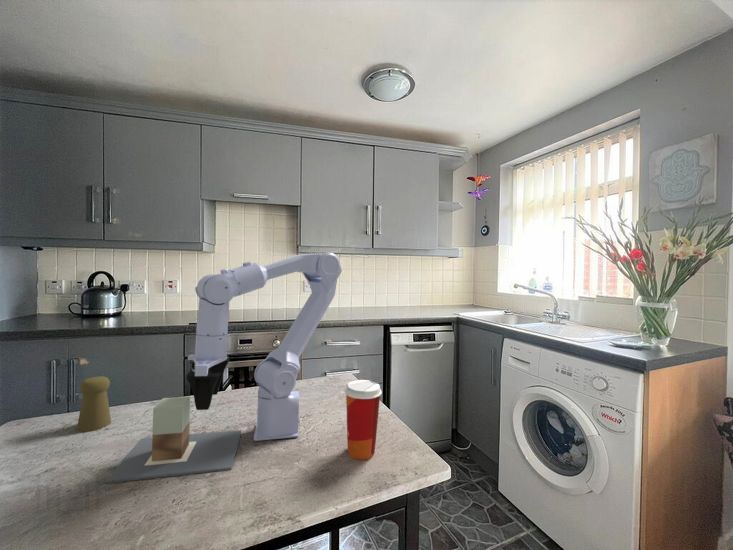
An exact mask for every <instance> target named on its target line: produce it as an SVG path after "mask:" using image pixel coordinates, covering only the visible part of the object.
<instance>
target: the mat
mask: <svg viewBox="0 0 733 550" xmlns="http://www.w3.org/2000/svg"><path fill="white" fill-rule="evenodd" d="M242 431H243V430H241V429H238V430H228V431H226V430H225V431H217V432H216V431H214V432H204V433H193V434H192V433H191V434H190V433H189V446H188V447H187V449H186V451H185V453H184V455H183V456H182V458H181V459H172V460H162V461H152V437H144V438H140V440H139V441H138V442H137V443H136V444H135V445H134V447H132V449H131V450H130V451H129V453H127V455H126V456H125V457H124V458H123V460H121V462H120V463H119V464H118V466H117V467H116V468H115V469H114V470H113V471H112V473H111V474H110V475H109V476H108V477H107V479H106V480H105V481H104V483H105V484H114V483H121V482H130V481H131V482H132V481H139V480H140V481H141V480H147V479H150V480H151V479H159V478H167V477H174V476H175V477H176V476H185V475H193V474H194V475H195V474H202V473H203V474H204V473H212V472H220V471H231V470H233V469H232V468H233V464H234V460H235V456H236V454H237V450H238V446H239V442H240V439H241V435H242Z"/></svg>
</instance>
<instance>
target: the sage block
mask: <svg viewBox="0 0 733 550" xmlns="http://www.w3.org/2000/svg"><path fill="white" fill-rule="evenodd" d="M189 421H190V422H191V396H180V397H179V396H177V397H176V396H175V397H163V398H162V399H161V400H160V401H159V402H158V403H157V404H156V405H155V406H154V407H153V408H152V435H159V434H172V433H182V432H183V430H184V429H185V427H186V426H187V424H188V423H189Z"/></svg>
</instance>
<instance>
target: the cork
mask: <svg viewBox="0 0 733 550" xmlns="http://www.w3.org/2000/svg"><path fill="white" fill-rule="evenodd" d="M110 385H111V381H110V379H109V378H108V377H106V376H101V375H100V376H94V377H93V376H92V377H89V378H88V377H87V378H86V379H85V380H83V381H82V382H81V384H80V387H79V391H80V393H81V394H82V399H81V405H80V410H79V414H78V415H79V416H78V419H77V420H78V421H77V426H76V431H77V430H78V431H77V432H80V433H88V432H89V433H90V432H95V431H99V430H102V429H104V428H106V427H107V425H108V426H109V425H110V424H111V423H112V418H111V411H110V404H109V398H108V392H107V390H109V388H110ZM103 427H104V428H103ZM101 428H102V429H101ZM98 429H99V430H98Z"/></svg>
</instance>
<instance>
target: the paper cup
mask: <svg viewBox="0 0 733 550" xmlns="http://www.w3.org/2000/svg"><path fill="white" fill-rule="evenodd" d="M344 393H345V396H346V403H345V404H346V433H347V434H346V437H347V454H348V456H349V455H350V456H349V457H351V458H352V459H354V458H355V460H357V461H359V460H360V461H363V459H366V460H369V459H371V458H372V457H374V455H375V450H376V443H377V433H378V432H377V431H378V422H379V411H380V410H379V409H380V400H381V399H380V398H381V395H382V394H383V393H382V389H381V386H380V384H379V383H376V382H374V381H372V380H368V379H356V380H353V381H349V382H348V383H347V385H346V388H345V389H344ZM370 457H371V458H370ZM368 458H369V459H368Z"/></svg>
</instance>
